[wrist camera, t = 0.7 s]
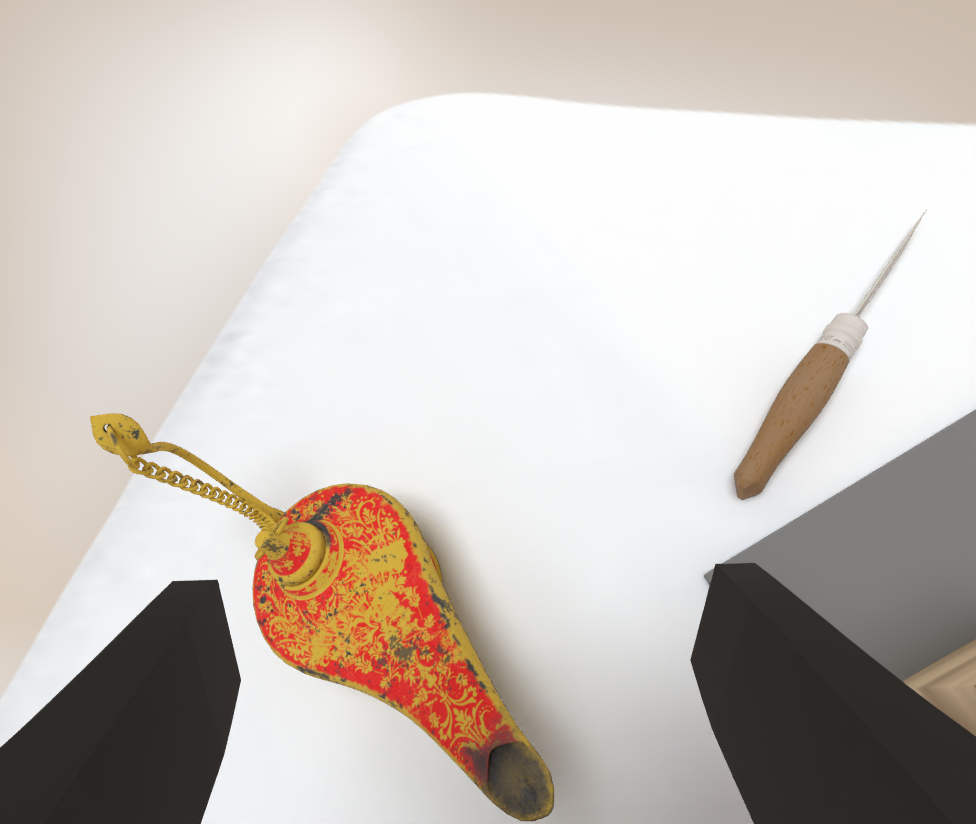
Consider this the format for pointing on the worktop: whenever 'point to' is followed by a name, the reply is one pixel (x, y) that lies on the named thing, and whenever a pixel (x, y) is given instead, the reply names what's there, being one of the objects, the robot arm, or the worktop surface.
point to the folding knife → (805, 393)
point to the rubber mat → (890, 554)
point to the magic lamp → (368, 616)
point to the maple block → (951, 685)
